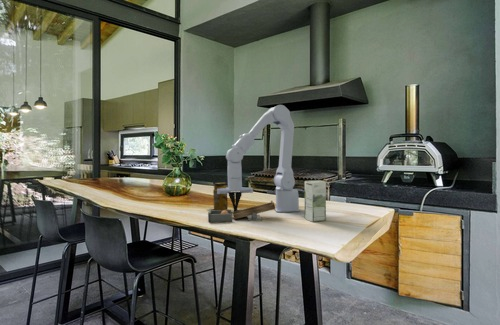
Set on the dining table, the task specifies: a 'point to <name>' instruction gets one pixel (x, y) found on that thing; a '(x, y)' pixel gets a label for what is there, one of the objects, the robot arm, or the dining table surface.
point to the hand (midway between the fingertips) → (235, 210)
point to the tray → (219, 216)
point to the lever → (253, 210)
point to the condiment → (220, 198)
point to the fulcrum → (254, 217)
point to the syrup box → (315, 200)
